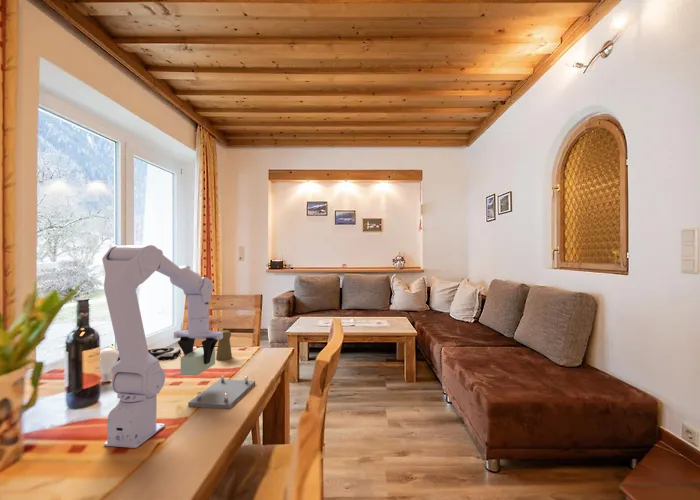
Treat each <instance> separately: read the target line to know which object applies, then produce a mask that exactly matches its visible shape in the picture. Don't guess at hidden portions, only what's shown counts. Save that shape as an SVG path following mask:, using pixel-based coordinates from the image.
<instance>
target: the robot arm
mask: <svg viewBox="0 0 700 500" xmlns="http://www.w3.org/2000/svg"><path fill="white" fill-rule="evenodd" d="M101 260H102V264H103V268H104V273H105V275H104V281H103V289H104V293H105V300H106V302H107V307H108V311H109V317H110V320H111V325H112V329H113V334H114V338H115V343H116V347H117V348H116V349H118V352H119V357H120V360H119V361H118V362H116V364H115V365H114V366H113V367H112V375H111V377H112V379H111V380H110V382H111V383H110V385H111V386H110V387H111V390H112V391H113V392H114V394H115V393H116V395H117V399H119V402H117V404H116V406H115V407H113V408H112V409H111V410H110V411H109V413H108V415H107V437H106V438H107V440H106V441H105V442H104V443H103V446H107V447H116V448H117V447H120V448H129V449H130V448H132V449H134V448H135V449H136V448H138V447H139V446H140V445H142V444H143V443H145V441H147V440H148V439H150V438H151V437H152V436H154V435H155V434H156V433H157V432H159V431H160V430H162V429H163V428H164V427H166V424H165V423H159V422H157V395H158V394H160V392H161V390H162V389H163V387H164V385H165V382H166V381H165V380H166V373H165V371H164V369H163V368H162V366H161V364H160V360H158V359H156V358H155V357H154V356H152V355H151V354H150V353H149V352H148V349H149V348H148V344H147V339H146V334H145V328H144V323H143V319H142V315H141V310H140V304H139V298H138V295H137V289H138V287H139V286H140V285H142V284H143V283H145V281H146V280H148V279H149V278H150V277H151V276H152V275H153V274H154V273H155V272H158V273H160V274H162V275H164V276H166V277H168V278H169V282H170V284H172V285H174V286H175V287H178V288H179V289H181V290H183V291H182V292H183V294H184V295H185V297H186V296H187V329H186V330H185V329H184V330H176V331H174V332H173V339H179V340H178V341H177V344H178V346H179V348H180V350H181V352H182V353H183V356H184V355H186V354H188V353H190V352H192V351H194V346H195V340H196V339H200V340H201V339H202V340H203V339H204V340H203V341H201V345H202V348H203V350H204V364H208V363H209V362H210V360H211V355H212V352H213V349H214V348H216V345H217V344H218V341H219V340H220V339H222V338H223V332H219V331H218V330H217V331H216V330H210V302H211V300H212V294H213V290H214V285H213V282H212V280H211V279H210V277H209V278H208V277H207V276H205V277H204V276H203V277H202V276H201V275H200V273H198V272H195V271H193V270H192V269H191V266H189V265H177V264H176V263H174V262H173V261H172V260H170V259H169V258H168V257H166V256H165V255H164V252H163V250H162V249H161V248H158V247H157V246H155V245H153V244H146V245H122V244H115V245H113V246H111V247H110V248H109V249H108V250H107V252H105V254H104V255H103V257H102V259H101Z"/></svg>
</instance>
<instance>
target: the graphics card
mask: <svg viewBox="0 0 700 500" xmlns="http://www.w3.org/2000/svg"><path fill="white" fill-rule="evenodd" d="M115 350H116V351H117V352H118V348H116V349H115ZM148 352H149V353H150V354H151V355H152V356H154V357H155V358H156V359H158V360H159V361H163V360H164V361H166V360H168V361H169V360H175V358H177V357H178V356H179V355H180V354H181V353H182V349H181V347H158V348H148ZM119 360H120V357H119V352H118V360H117V362H118V361H119ZM117 362H116V363H117Z"/></svg>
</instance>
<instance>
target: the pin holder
mask: <svg viewBox="0 0 700 500" xmlns="http://www.w3.org/2000/svg"><path fill="white" fill-rule="evenodd" d="M255 385H256V381H255V380H249V376H248V375H245V376H244V380H241V379H225V375H224V374H222V375H220V378H219V379H218V380H217V381H216V382H214V383H212V384H211V385H210V386H209V387H207V388H206V389H204V390H203V391H198V392H197V393H196V394H197V395H196V396H195V397H193V398H192V399H191V400H190V401H188V402H187V403H188V404H187V405H188V407H194V406H195V407H196V408H212V409H227V410H230V409H231V408H232V407H233V406H234V405H235V404H236V403H237V402H238V401H239V400H240V399H242V397H243V396H245V394H247V392H249V391H250V390H251V389H252V388H253V386H255ZM195 407H194V408H195Z"/></svg>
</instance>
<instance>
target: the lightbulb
mask: <svg viewBox="0 0 700 500" xmlns="http://www.w3.org/2000/svg"><path fill="white" fill-rule="evenodd" d="M116 350H117V349H114V348H112V347H104V348H102V349H100V350H99V351H100V358H101V360H100V369H101V370H100V369H99V373H100V376H101V377H100V378H101V382H102V383H108V382H111V381H112V367H113V366H114V365H115V364H116V363H117V360H118V352H117V351H116Z"/></svg>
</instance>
